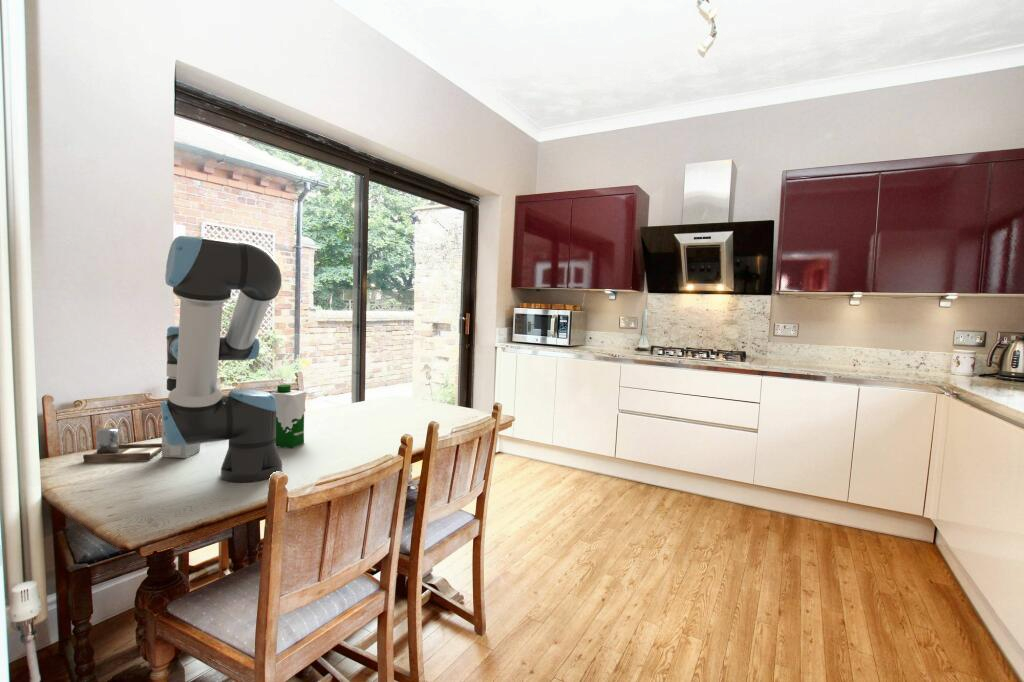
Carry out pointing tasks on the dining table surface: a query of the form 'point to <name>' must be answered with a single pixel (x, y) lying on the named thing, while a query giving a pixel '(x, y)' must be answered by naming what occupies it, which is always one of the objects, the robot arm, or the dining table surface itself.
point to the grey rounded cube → (108, 440)
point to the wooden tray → (127, 453)
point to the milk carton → (289, 416)
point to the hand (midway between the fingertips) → (181, 450)
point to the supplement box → (181, 450)
